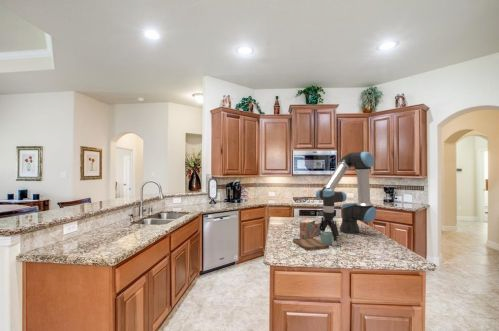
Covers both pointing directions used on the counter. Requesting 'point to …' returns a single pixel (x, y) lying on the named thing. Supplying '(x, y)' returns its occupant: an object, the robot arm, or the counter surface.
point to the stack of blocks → (309, 228)
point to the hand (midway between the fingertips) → (328, 242)
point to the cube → (326, 238)
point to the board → (310, 243)
